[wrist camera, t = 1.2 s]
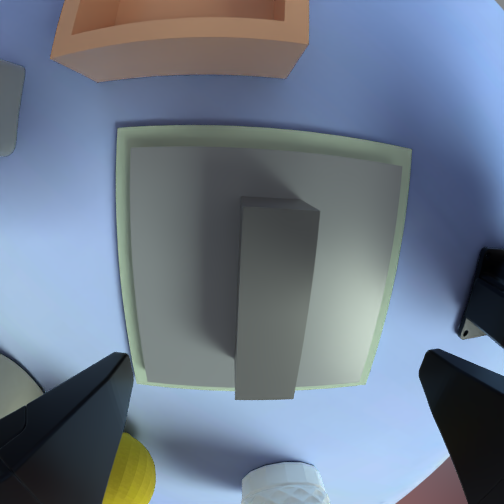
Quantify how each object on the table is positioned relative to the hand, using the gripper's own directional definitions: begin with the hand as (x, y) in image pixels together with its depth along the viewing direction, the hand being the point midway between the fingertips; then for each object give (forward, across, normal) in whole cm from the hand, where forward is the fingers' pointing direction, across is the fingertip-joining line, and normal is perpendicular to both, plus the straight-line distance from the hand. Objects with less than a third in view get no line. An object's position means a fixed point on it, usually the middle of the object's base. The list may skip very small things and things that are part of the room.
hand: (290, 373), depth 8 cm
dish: (+7, +4, -14) cm, 16 cm away
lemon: (+7, +9, +13) cm, 18 cm away
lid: (+7, 0, 0) cm, 7 cm away
